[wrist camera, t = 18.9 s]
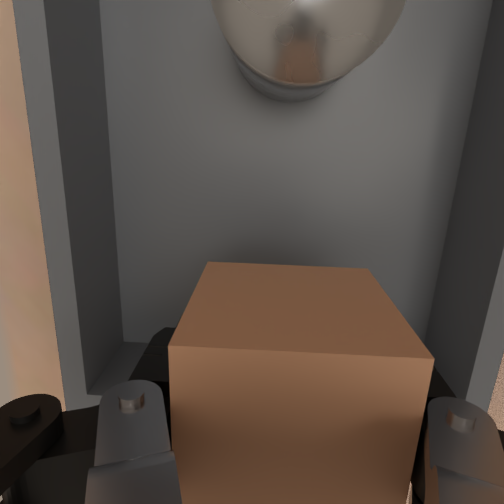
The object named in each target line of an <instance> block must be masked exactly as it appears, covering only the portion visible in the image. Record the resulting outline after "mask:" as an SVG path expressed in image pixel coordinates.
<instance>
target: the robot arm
mask: <svg viewBox="0 0 504 504" xmlns="http://www.w3.org/2000/svg"><path fill="white" fill-rule="evenodd" d="M182 315H183V314H182ZM182 315H181V317H182ZM181 317H180V319H181ZM179 321H180V320H179ZM178 323H179V322H178ZM177 326H178V324H177ZM177 326H176V328H177ZM176 328H170V327H165V328H163V329H162V330H160V331H159V332H157V333H156V334H155V335H153V337H152V339H151V341H150V342H149V344H148V347H147V348H146V349H145V351H144V353H143V355H142V356H141V358H140V360H139V362H138V363H137V365H136V367H135V369H134V370H133V372H132V374H131V376H130V378H129V379H128V381H126V382H122V383H120V384H117V385H115V386H113V387H112V388H110V389H109V390H108V391H107V392H105V393H104V395H103V396H102V398H101V400H100V404H99V405H96V406H92V407H88V408H82V409H76V410H70V411H64V412H62V408H61V403H60V401H59V400H58V399H57V398H56V397H54V396H52V395H47V394H33V395H28V396H24V397H20V398H18V399H15V400H13V401H10V402H9V403H7V404H5V405H3V406H2V407H1V408H0V496H1V495H2V498H3V500H2V501H1V502H0V504H182V498H181V492H180V485H179V479H178V473H177V466H176V460H175V454H174V450H172V438H171V411H170V384H169V357H168V345H169V342H170V340H171V338H172V336H173V334H174V332H175V330H176ZM410 481H411V483H412V485H411V490H410V495H409V504H504V431H501V430H498V429H497V426H496V424H495V422H494V420H493V419H492V418H491V416H490V415H489V414H487V413H486V412H485V411H484V410H482V409H481V408H480V407H478V406H476V405H474V404H472V403H470V402H468V401H465V400H462V399H459V398H457V397H456V396H455V394H454V393H453V391H452V390H451V389H450V387H449V386H448V384H447V383H446V382H445V380H444V379H443V377H442V376H441V375H440V373H439V372H437V369H436V368H435V366H434V365H433V370H432V375H431V380H430V385H429V390H428V395H427V400H426V405H425V410H424V415H423V420H422V425H421V430H420V435H419V440H418V445H417V450H416V455H415V460H414V465H413V470H412V475H411V480H410Z"/></svg>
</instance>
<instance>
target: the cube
mask: <svg viewBox="0 0 504 504" xmlns="http://www.w3.org/2000/svg"><path fill="white" fill-rule="evenodd" d="M168 357H169V384H170V411H171V438H172V450H174V454H175V460H176V466H177V473H178V479H179V485H180V492H181V498H182V504H406V500H407V495H408V490H409V485H410V480H411V475H412V470H413V465H414V460H415V455H416V450H417V445H418V440H419V435H420V430H421V425H422V420H423V415H424V410H425V405H426V400H427V395H428V390H429V385H430V380H431V375H432V370H433V365H434V360H435V359H434V357H433V356H432V355H431V353H430V352H429V351H428V349H427V348H426V347H425V345H424V344H423V343H422V341H421V340H420V338H419V337H418V336H417V334H416V333H415V332H414V330H413V329H412V328H411V326H410V325H409V324H408V322H407V321H406V320H405V318H404V317H403V316H402V314H401V313H400V311H399V310H398V309H397V307H396V306H395V305H394V303H393V302H392V301H391V299H390V298H389V297H388V295H387V294H386V293H385V291H384V290H383V288H382V287H381V286H380V284H379V283H378V282H377V280H376V279H375V278H374V276H373V275H372V274H371V272H370V271H369V270H368V269H366V268H344V267H321V266H298V265H276V264H253V263H230V262H207V264H206V267H205V269H204V271H203V273H202V275H201V277H200V279H199V281H198V283H197V285H196V288H195V290H194V292H193V294H192V296H191V298H190V300H189V302H188V304H187V307H186V309H185V311H184V313H183V315H182V317H181V319H180V321H179V323H178V326H177V328H176V330H175V332H174V334H173V336H172V338H171V340H170V342H169V345H168Z"/></svg>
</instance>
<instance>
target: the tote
mask: <svg viewBox="0 0 504 504" xmlns="http://www.w3.org/2000/svg"><path fill="white" fill-rule="evenodd" d="M12 1H13V9H14V16H15V24H16V31H17V39H18V47H19V54H20V62H21V70H22V77H23V85H24V92H25V100H26V108H27V115H28V123H29V131H30V138H31V146H32V153H33V161H34V169H35V176H36V184H37V191H38V199H39V207H40V214H41V222H42V230H43V237H44V245H45V252H46V260H47V268H48V275H49V283H50V290H51V298H52V306H53V313H54V321H55V329H56V336H57V344H58V351H59V359H60V367H61V374H62V382H63V390H64V397H65V405H66V411H70V410H76V409H82V408H88V407H92V406H96V405H99V404H100V400H101V398H102V396H103V395H104V393H105V392H107V391H108V390H109V389H110V388H112V387H113V386H115V385H117V384H120V383H122V382H126V381H128V379H129V378H130V376H131V374H132V372H133V370H134V369H135V367H136V365H137V363H138V362H139V360H140V358H141V356H142V355H143V353H144V351H145V349H146V348H147V347H148V344H149V342H150V341H151V339H152V337H153V335H155V334H156V333H157V332H159V331H160V330H162V329H163V328H165V327H170V328H176V326H177V324H178V322H179V320H180V317H181V315H182V314H183V313H184V311H185V309H186V307H187V304H188V302H189V300H190V298H191V296H192V294H193V292H194V290H195V288H196V285H197V283H198V281H199V279H200V277H201V275H202V273H203V271H204V269H205V267H206V264H207V262H230V263H253V264H276V265H298V266H321V267H344V268H366V269H368V270H369V271H370V272H371V274H372V275H373V276H374V278H375V279H376V280H377V282H378V283H379V284H380V286H381V287H382V288H383V290H384V291H385V293H386V294H387V295H388V297H389V298H390V299H391V301H392V302H393V303H394V305H395V306H396V307H397V309H398V310H399V311H400V313H401V314H402V316H403V317H404V318H405V320H406V321H407V322H408V324H409V325H410V326H411V328H412V329H413V330H414V332H415V333H416V334H417V336H418V337H419V338H420V340H421V341H422V343H423V344H424V345H425V347H426V348H427V349H428V351H429V352H430V353H431V355H432V356H433V357H434V359H435V360H434V366H435V368H436V369H437V372H439V373H440V375H441V376H442V377H443V379H444V380H445V382H446V383H447V384H448V386H449V387H450V389H451V390H452V391H453V393H454V394H455V396H456V397H457V398H459V399H462V400H465V401H468V402H470V403H472V404H474V405H476V406H478V407H480V408H481V409H482V410H484V411H485V412H486V413H487V411H488V408H489V404H490V400H491V397H492V393H493V389H494V386H495V382H496V378H497V375H498V371H499V367H500V364H501V360H502V356H503V353H504V0H406V2H405V6H404V8H403V10H402V12H401V15H400V17H399V19H398V21H397V23H396V24H395V26H394V28H393V29H392V31H391V33H390V34H389V35H388V37H387V38H386V39H385V41H384V42H383V44H382V45H381V46H380V47H379V48H378V49H377V50H376V51H375V52H374V53H373V54H372V55H371V56H370V57H369V58H367V59H366V60H365V61H364V62H363V63H361V64H360V65H359V66H357V67H356V68H355V69H353V70H352V71H351V72H349V73H348V74H347V75H345V76H344V77H343V78H341V79H340V80H338V81H337V82H336V83H334V84H333V85H332V86H330V87H329V88H328V89H326V90H325V91H323V92H322V93H320V94H319V95H317V96H315V97H313V98H311V99H308V100H305V101H300V102H280V101H276V100H273V99H270V98H268V97H266V96H264V95H263V94H261V93H259V92H258V91H257V90H256V89H254V88H253V87H252V86H251V85H250V84H249V83H248V81H247V80H246V79H245V77H244V76H243V74H242V72H241V71H240V69H239V66H238V64H237V62H236V60H235V58H234V56H233V54H232V52H231V49H230V47H229V45H228V43H227V41H226V39H225V37H224V35H223V32H222V30H221V28H220V26H219V24H218V21H217V19H216V16H215V14H214V11H213V7H212V4H211V0H12Z"/></svg>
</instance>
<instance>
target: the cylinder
mask: <svg viewBox="0 0 504 504" xmlns="http://www.w3.org/2000/svg"><path fill="white" fill-rule="evenodd" d="M405 2H406V0H211V4H212V7H213V11H214V14H215V16H216V19H217V21H218V24H219V26H220V28H221V30H222V32H223V35H224V37H225V39H226V41H227V43H228V45H229V47H230V49H231V52H232V54H233V56H234V58H235V60H236V62H237V64H238V66H239V69H240V71H241V72H242V74H243V76H244V77H245V79H246V80H247V81H248V83H249V84H250V85H251V86H252V87H253V88H254V89H256V90H257V91H258V92H259V93H261V94H263V95H264V96H266V97H268V98H270V99H273V100H276V101H280V102H300V101H305V100H308V99H311V98H313V97H315V96H317V95H319V94H320V93H322V92H323V91H325V90H326V89H328V88H329V87H330V86H332V85H333V84H334V83H336V82H337V81H338V80H340V79H341V78H343V77H344V76H345V75H347V74H348V73H349V72H351V71H352V70H353V69H355V68H356V67H357V66H359V65H360V64H361V63H363V62H364V61H365V60H366V59H367V58H369V57H370V56H371V55H372V54H373V53H374V52H375V51H376V50H377V49H378V48H379V47H380V46H381V45H382V44H383V42H384V41H385V39H386V38H387V37H388V35H389V34H390V33H391V31H392V29H393V28H394V26H395V24H396V23H397V21H398V19H399V17H400V15H401V12H402V10H403V8H404V6H405Z"/></svg>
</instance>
